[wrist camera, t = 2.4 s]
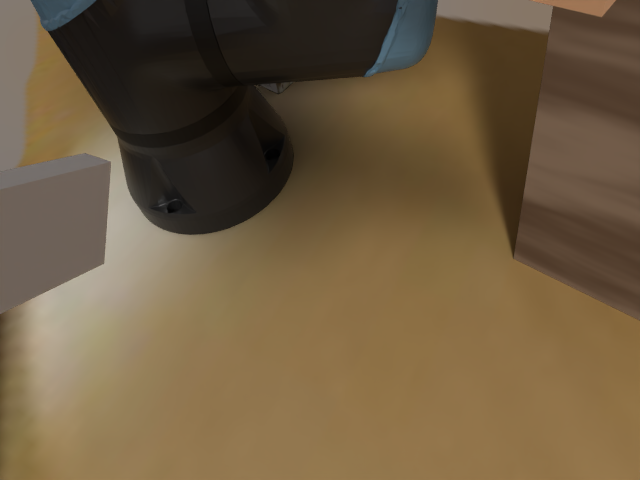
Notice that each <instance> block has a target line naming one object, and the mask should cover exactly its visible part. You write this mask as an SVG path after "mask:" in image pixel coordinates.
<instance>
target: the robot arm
mask: <svg viewBox="0 0 640 480" xmlns="http://www.w3.org/2000/svg"><path fill="white" fill-rule="evenodd" d="M31 2H32V4H33V5H34V7H35V9H36V11H37V13H38V15H39V16H40V22H41V25H42V27H43V28H44V29H45V30H46V31H48V33H49V34H50V36H51V37H52V39H53V40H54V42H55V43H56V45H57V46H58V48H59V49H60V51H61V52H62V54H63V55H64V57H65V58H66V60H67V61H68V63H69V64H70V66H71V67H72V69H73V70H74V72H75V73H76V75H77V76H78V78H79V79H80V81H81V82H82V84H83V85H84V87H85V88H86V90H87V91H88V93H89V94H90V96H91V97H92V99H93V100H94V102H95V103H96V105H97V106H98V108H99V109H100V111H101V112H102V114H103V115H104V117H105V118H106V120H107V121H108V123H109V124H110V126H111V128H112V129H113V131H114V132H115V134H116V136H117V138H118V143H119V148H120V152H121V157H122V162H123V167H124V172H125V177H126V182H127V186H128V189H129V192H130V194H131V196H132V198H133V200H134V201H135V203H136V204H137V206H138V207H139V208H140V210H141V211H142V213H143V214H144V216H145V217H146V218H147V219H148V220H149V221H150V222H152V223H153V224H154V225H156V226H158V227H160V228H162V229H164V230H167V231H170V232H173V233H179V234H190V235H192V234H206V233H212V232H217V231H220V230H224V229H227V228H230V227H232V226H235V225H237V224H239V223H242V222H243V221H245V220H247V219H249V218H251V217H252V216H254V215H255V214H257V213H258V212H260V211H261V210H262V209H264V208H265V207H266V206H267V205H268V204H269V203H270V202H271V201H272V200H273V199H274V198H275V197H276V196H277V195H278V194H279V192H280V191H281V190H282V188H283V187H284V185H285V183H286V182H287V180H288V178H289V175H290V173H291V169H292V165H293V149H292V145H291V142H290V139H289V135H288V132H287V129H286V127H285V125H284V123H283V121H282V119H281V118H280V116H279V115H278V114H277V113H276V111H275V110H274V109H273V108H272V107H271V105H270V104H269V103H268V102H267V101H266V99H265V98H264V97H263V96H262V95H261V93H260V92H259V91H258V90H257V89H256V87H255V86H254V85H259V84H272V83H285V82H297V81H310V80H323V79H335V78H348V77H361V76H362V77H370V76H372V75H374V74H375V73H381V72H387V71H393V70H399V69H405V68H409V67H411V66H413V65H415V64H416V63H418V62H419V61H420V60H421V59H422V58H423V57H424V55H425V54H426V52H427V50H428V48H429V46H430V43H431V39H432V35H433V30H434V25H435V18H436V11H437V3H438V0H31ZM110 169H111V162H110V161H107V160H104V159H101V158H98V157H95V156H92V155H89V154H86V153H84V154H79V155H75V156H70V157H65V158H61V159H56V160H51V161H47V162H42V163H37V164H33V165H28V166H23V167H19V168H14V169H10V170H5V171H0V314H1V313H3V312H5V311H7V310H9V309H11V308H14V307H16V306H18V305H20V304H22V303H24V302H26V301H28V300H30V299H32V298H34V297H36V296H38V295H40V294H42V293H44V292H46V291H49V290H51V289H53V288H55V287H57V286H59V285H61V284H63V283H65V282H67V281H69V280H71V279H73V278H75V277H77V276H79V275H81V274H84V273H86V272H88V271H90V270H92V269H94V268H96V267H98V266H100V265H102V264H104V258H105V243H106V229H107V214H108V199H109V184H110Z"/></svg>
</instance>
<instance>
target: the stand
mask: <svg viewBox="0 0 640 480" xmlns="http://www.w3.org/2000/svg"><path fill="white" fill-rule="evenodd" d="M514 259H516V260H518V261H520V262H522V263H524V264H526V265H528V266H530V267H532V268H534V269H536V270H538V271H540V272H542V273H544V274H546V275H548V276H550V277H552V278H554V279H556V280H558V281H561V282H563V283H565V284H567V285H569V286H571V287H573V288H575V289H577V290H579V291H581V292H583V293H585V294H587V295H589V296H591V297H593V298H595V299H597V300H599V301H601V302H603V303H605V304H607V305H610V306H612V307H614V308H616V309H618V310H620V311H622V312H624V313H626V314H628V315H630V316H632V317H634V318H636V319H638V320H640V0H616V1H615V2H614V3H613V4H612V6H611V7H610V8H609V9H608V10H607V11H606V13H605V14H604V15H603V16H602V17H599V16H595V15H591V14H586V13H582V12H578V11H573V10H569V9H565V8H560V7H556V6H553V12H552V17H551V24H550V30H549V37H548V43H547V49H546V56H545V62H544V68H543V75H542V81H541V87H540V94H539V100H538V106H537V113H536V119H535V125H534V132H533V138H532V144H531V151H530V157H529V163H528V170H527V176H526V182H525V189H524V195H523V201H522V208H521V214H520V220H519V227H518V233H517V240H516V246H515V252H514Z"/></svg>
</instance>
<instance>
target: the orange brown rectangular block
mask: <svg viewBox="0 0 640 480" xmlns="http://www.w3.org/2000/svg"><path fill="white" fill-rule="evenodd" d="M530 1H535V2H539V3H543V4H548V5H552V6H556V7H560V8H565V9H569V10H573V11H578V12H582V13H586V14H591V15H595V16H599V17H602V16H603V15H604V14H605V13H606V11H607V10H608V9H609V8H610V7H611V6H612V4H613V3H614V2H615V1H616V0H530Z"/></svg>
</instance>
